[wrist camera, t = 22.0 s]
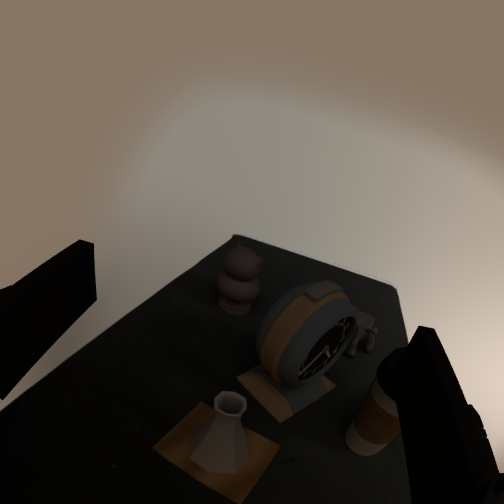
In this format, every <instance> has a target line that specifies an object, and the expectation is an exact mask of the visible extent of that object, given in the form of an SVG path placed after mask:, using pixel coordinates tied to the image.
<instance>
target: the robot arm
mask: <svg viewBox="0 0 504 504" xmlns="http://www.w3.org/2000/svg"><path fill="white" fill-rule="evenodd" d="M96 300H97V295H96V281H95V263H94V244H93V243H90V242H87V241H84V240H78V241H76V242H75V243H73V244H72V245H70V246H69V247H67V248H66V249H64V250H63V251H61V252H59V253H58V254H57V255H55V256H53V257H52V258H51V259H49V260H47V261H46V262H45V263H43V264H42V265H40V266H39V267H37V268H36V269H34V270H33V271H32V272H30V273H29V274H27V275H26V276H24V277H23V278H22V279H20V280H19V281H18V282H16V283H15V284H13V285H12V286H11V285H10V286H8V287H6V288H3V289H0V399H2V400H4V398H5V397H6V396H7V395H8V394H9V393H10V391H11V390H12V389H13V388H14V387H15V386H16V384H17V383H18V382H19V381H20V380H21V379H22V378H23V377H24V376H25V374H26V373H27V372H28V371H29V370H30V369H31V368H32V367H33V366H34V364H35V363H36V362H37V361H38V360H39V359H40V358H41V357H42V356H43V355H44V354H45V353H46V351H47V350H48V349H49V348H50V347H51V346H52V345H53V344H54V343H55V342H56V341H57V340H58V339H59V338H60V337H61V336H62V335H63V334H64V333H65V331H66V330H67V329H68V328H69V327H70V326H71V325H72V324H73V323H74V322H75V321H76V320H77V319H78V318H79V317H80V316H81V315H82V314H83V313H84V312H85V311H86V310H87V309H88V308H89V307H90V306H91V305H92V304H93V303H94V302H95V301H96ZM390 380H391V384H392V388H393V393H394V397H395V402H396V407H397V412H398V417H399V422H400V427H401V433H402V438H403V444H404V450H405V456H406V462H407V469H408V476H409V483H410V491H411V500H412V504H504V473H499V470H498V467H497V464H496V461H495V458H494V455H493V452H492V448H491V446H490V443H489V440H488V439H487V434H486V431H485V429H483V428H484V426H483V423H482V420H481V418H480V415H479V414H478V413H477V411H476V410H475V409H474V407H473V406H472V405H471V404H469V405H468V404H467V402H466V399H465V397H464V394H463V392H462V389H461V387H460V385H459V382H458V380H457V377H456V375H455V373H454V370H453V368H452V366H451V364H450V361H449V359H448V357H447V355H446V353H445V350H444V348H443V346H442V344H441V342H440V340H439V338H438V336H437V333H436V331H435V329H433V328H428V327H424V326H418V328H417V330H416V332H415V333H414V335H413V337H412V339H411V341H410V342H409V344H408V346H407V348H406V349H405V351H404V353H403V354H402V356H401V358H400V360H399V361H398V363H397V364H396V366H395V368H394V369H393V371H392V373H391V374H390Z"/></svg>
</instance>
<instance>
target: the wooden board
mask: <svg viewBox="0 0 504 504" xmlns="http://www.w3.org/2000/svg"><path fill="white" fill-rule="evenodd" d="M214 412H215V409H213V408H212V407H210V406H208V405H207V404H205V403H203V402H202V401H201V402H200V403H199V404H198V405H197V406H196V407H195V408H194V409H193V410H192V411H190V412H189V413H188V414H187V415H186V416H185V417H184V418H183V419H182V420H181V421H180V422H179V423H178V424H177V425H176V426H175V427H174V428H173V429H172V430H171V431H169V432H168V433H167V434H166V435H165V436H164V437H163V438H162V439H161V440H160V441H159V442H158V443H156V444H155V445H154V446H153V447H152V449H153V450H154V451H156V452H157V453H158V454H160V455H161V456H162V457H164V458H165V459H167V460H168V461H169V462H171V463H172V464H174V465H175V466H177V467H178V468H179V469H181V470H182V471H184V472H185V473H187V474H188V475H190V476H191V477H193V478H195V479H196V480H198V481H199V482H201V483H202V484H204V485H206V486H207V487H209V488H211V489H212V490H214V491H216V492H217V493H219V494H221V495H223V496H224V497H226V498H228V499H230V500H231V501H233V502H235V503H237V504H241V503H242V502H243V500H244V499H245V498H246V496H247V495H248V494H249V492H250V491H251V489H252V488H253V487H254V485H255V484H256V482H257V481H258V480H259V478H260V477H261V475H262V474H263V472H264V471H265V469H266V468H267V466H268V465H269V463H270V462H271V460H272V459H273V457H274V456H275V454H276V453H277V451H278V450H279V448H280V447H281V446H280V445H278V444H276V443H274V442H272V441H271V440H269V439H267V438H265V437H263V436H261V435H259V434H257V433H255V432H253V431H252V430H250V429H248V428H246V427H244V426H242V428H243V431H244V433H245V435H246V439H247V448H248V459H247V460H246V461H245V462H244V463H243V465H242V466H241V467H240V468H239V469H238V471H237V472H236V473H212V472H208V471H207V470H205V469H204V468H202V467H201V466H199V465H198V464H196V463H195V462H194V461H192V460H191V459H189V446H190V438H191V437H192V436H193V435H194V434H195V433H196V432H197V431H198V430H199V429H200V428H201V427H202V426H203V425H205V424H206V423H207V422H208V421H209V420H210V419H211V417H212V415H213V413H214Z"/></svg>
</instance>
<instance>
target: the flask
mask: <svg viewBox="0 0 504 504" xmlns="http://www.w3.org/2000/svg"><path fill="white" fill-rule="evenodd" d="M214 409H215V412H214V413H213V415H212V417H211V419H210V420H209V421H208V422H207V423H206V424H205V425H203V426H202V427H201V428H200V429H199V430H198V431H197V432H196V433H195V434H194V435H193V436H192V437H191V438H190V446H189V459H191V460H192V461H194V462H195V463H196V464H198V465H199V466H201V467H202V468H204V469H205V470H207V471H208V472H212V473H236V472H237V471H238V469H239V468H240V467H241V466H242V465H243V463H244V462H245V461H246V460H247V459H248V448H247V439H246V435H245V433H244V431H243V428H242V425H241V422H240V419H241V415H242V414H243V413H244V412H245V411H246V410H247V406H246V398H244V397H243V396H241V395H239V394H238V393H236V392H229V391H222V392H221V393H220V394H219V395H218V396H217V397H215V399H214Z"/></svg>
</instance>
